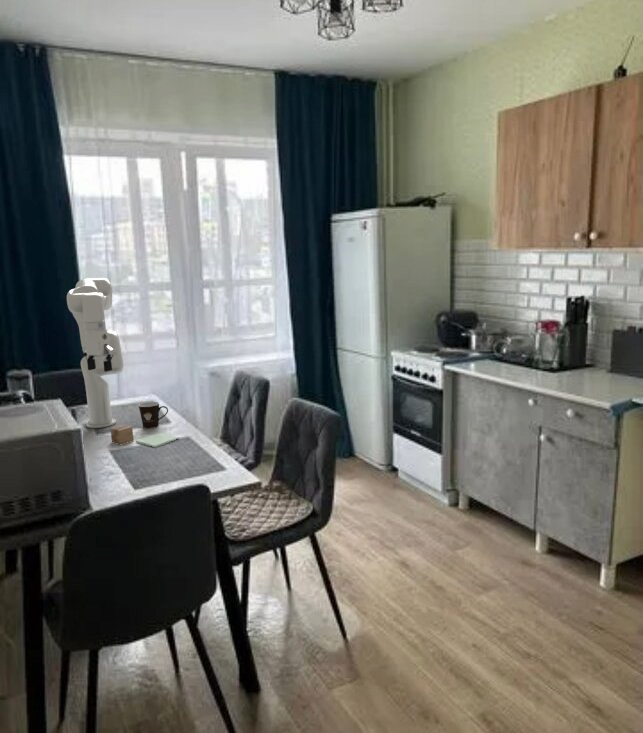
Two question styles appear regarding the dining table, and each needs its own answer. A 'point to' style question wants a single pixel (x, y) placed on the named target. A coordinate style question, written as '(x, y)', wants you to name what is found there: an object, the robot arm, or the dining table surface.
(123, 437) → the walnut cube
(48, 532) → the dining table surface
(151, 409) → the coffee mug
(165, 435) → the green tile
